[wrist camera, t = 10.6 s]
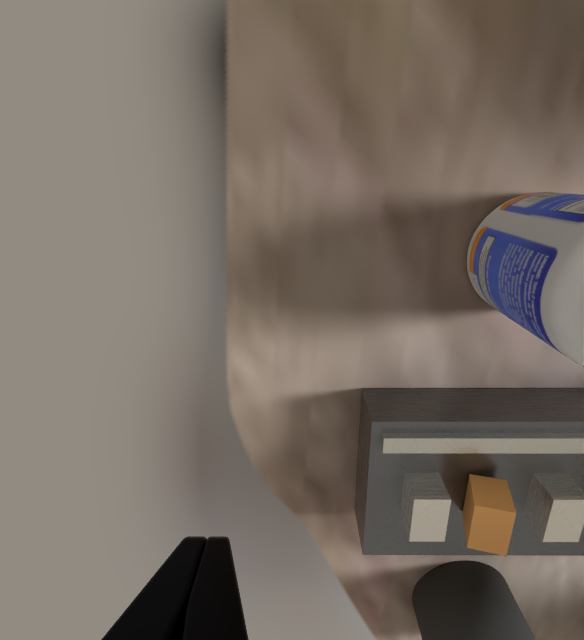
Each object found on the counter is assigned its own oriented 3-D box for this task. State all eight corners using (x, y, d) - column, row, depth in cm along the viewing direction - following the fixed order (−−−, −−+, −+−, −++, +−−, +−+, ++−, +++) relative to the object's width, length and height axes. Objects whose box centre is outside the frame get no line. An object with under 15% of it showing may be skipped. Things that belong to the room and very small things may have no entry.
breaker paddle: (506, 480, 19) (516, 512, 17) (497, 520, 20) (506, 556, 18) (469, 473, 19) (474, 505, 18) (462, 513, 20) (467, 547, 18)
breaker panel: (635, 388, 21) (724, 445, 17) (597, 510, 24) (665, 587, 20) (362, 388, 21) (379, 445, 17) (354, 509, 24) (368, 585, 20)
